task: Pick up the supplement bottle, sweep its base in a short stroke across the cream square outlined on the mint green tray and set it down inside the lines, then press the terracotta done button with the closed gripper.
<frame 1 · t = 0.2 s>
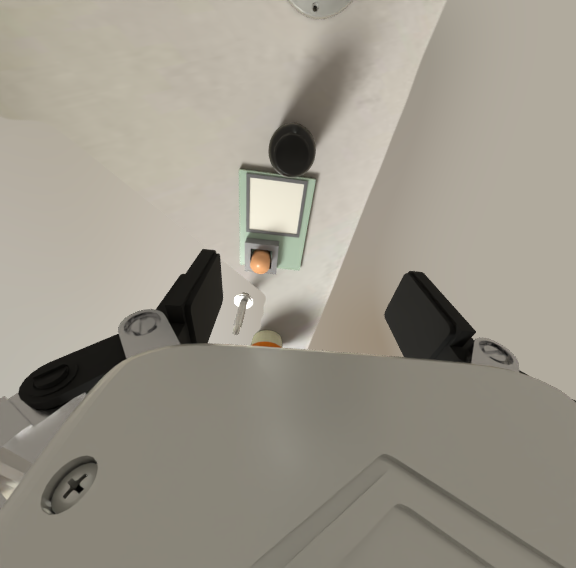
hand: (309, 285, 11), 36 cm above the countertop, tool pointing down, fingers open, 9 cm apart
supplement bottle: (291, 146, 38), on the countertop
reusable coffee cup: (267, 339, 69), on the countertop
done button: (260, 260, 47), point 4 cm above the countertop, slide at 0.0 cm
screw: (245, 295, 59), on the countertop
mint green tray: (273, 225, 47), on the countertop
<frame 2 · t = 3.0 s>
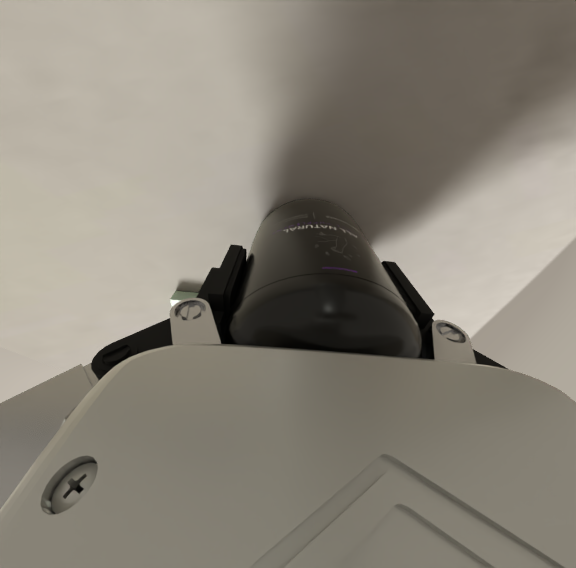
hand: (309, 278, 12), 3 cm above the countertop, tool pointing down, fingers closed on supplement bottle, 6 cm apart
supplement bottle: (305, 248, 14), on the countertop, touching gripper
when the fingers open (5 cm above the countertop, at t = 7.7 s): supplement bottle stays where it is, resting on mint green tray.
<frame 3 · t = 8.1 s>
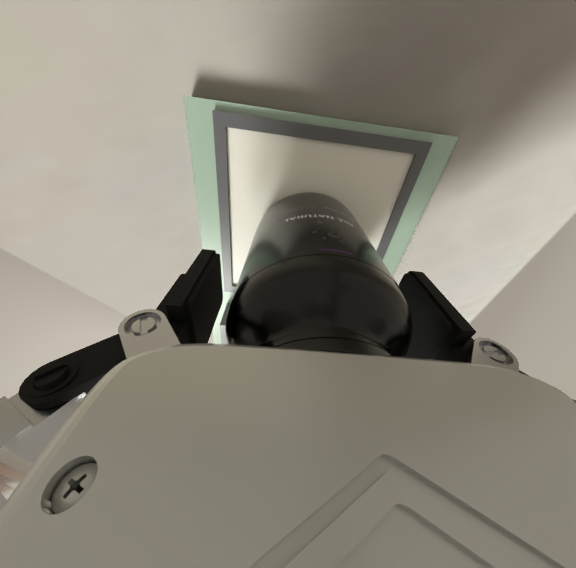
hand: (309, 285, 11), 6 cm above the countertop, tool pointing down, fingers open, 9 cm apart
supplement bottle: (304, 241, 15), point 1 cm above the countertop, touching mint green tray
mint green tray: (297, 272, 18), on the countertop
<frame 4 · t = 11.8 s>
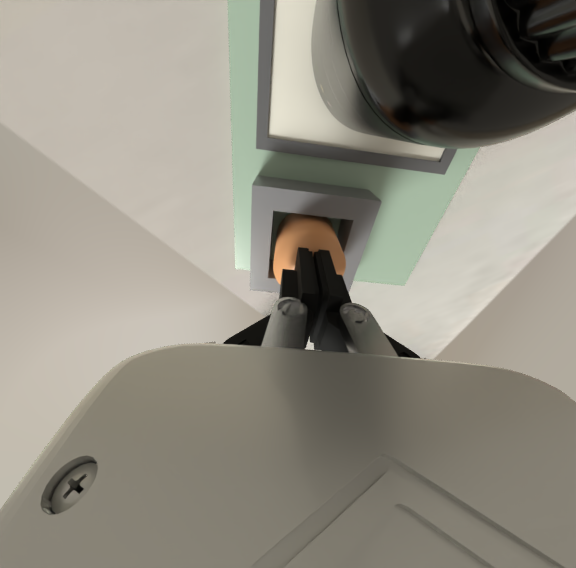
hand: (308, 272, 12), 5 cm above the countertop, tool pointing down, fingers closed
supplement bottle: (381, 44, 10), point 1 cm above the countertop, touching mint green tray
done button: (306, 251, 14), point 3 cm above the countertop, slide at 0.8 cm
mint green tray: (355, 127, 13), on the countertop
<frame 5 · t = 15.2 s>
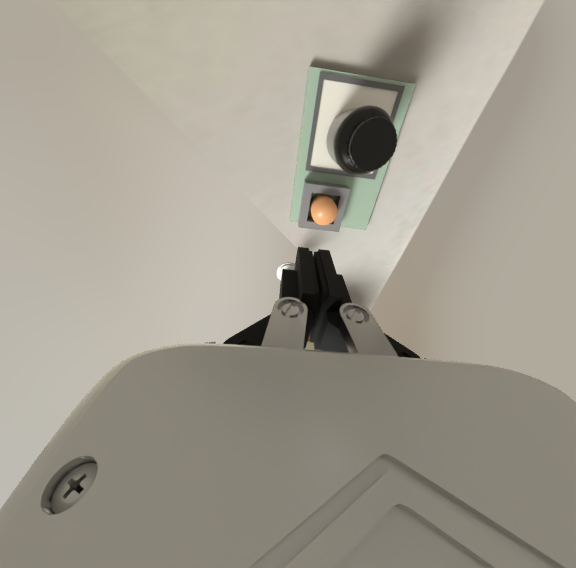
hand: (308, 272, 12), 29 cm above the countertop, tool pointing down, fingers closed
supplement bottle: (348, 138, 32), point 1 cm above the countertop, touching mint green tray
done button: (323, 208, 36), point 3 cm above the countertop, slide at 0.9 cm
screw: (288, 267, 47), on the countertop
mint green tray: (341, 162, 35), on the countertop
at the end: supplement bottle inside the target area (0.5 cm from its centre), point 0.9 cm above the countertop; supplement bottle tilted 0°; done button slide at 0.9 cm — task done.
